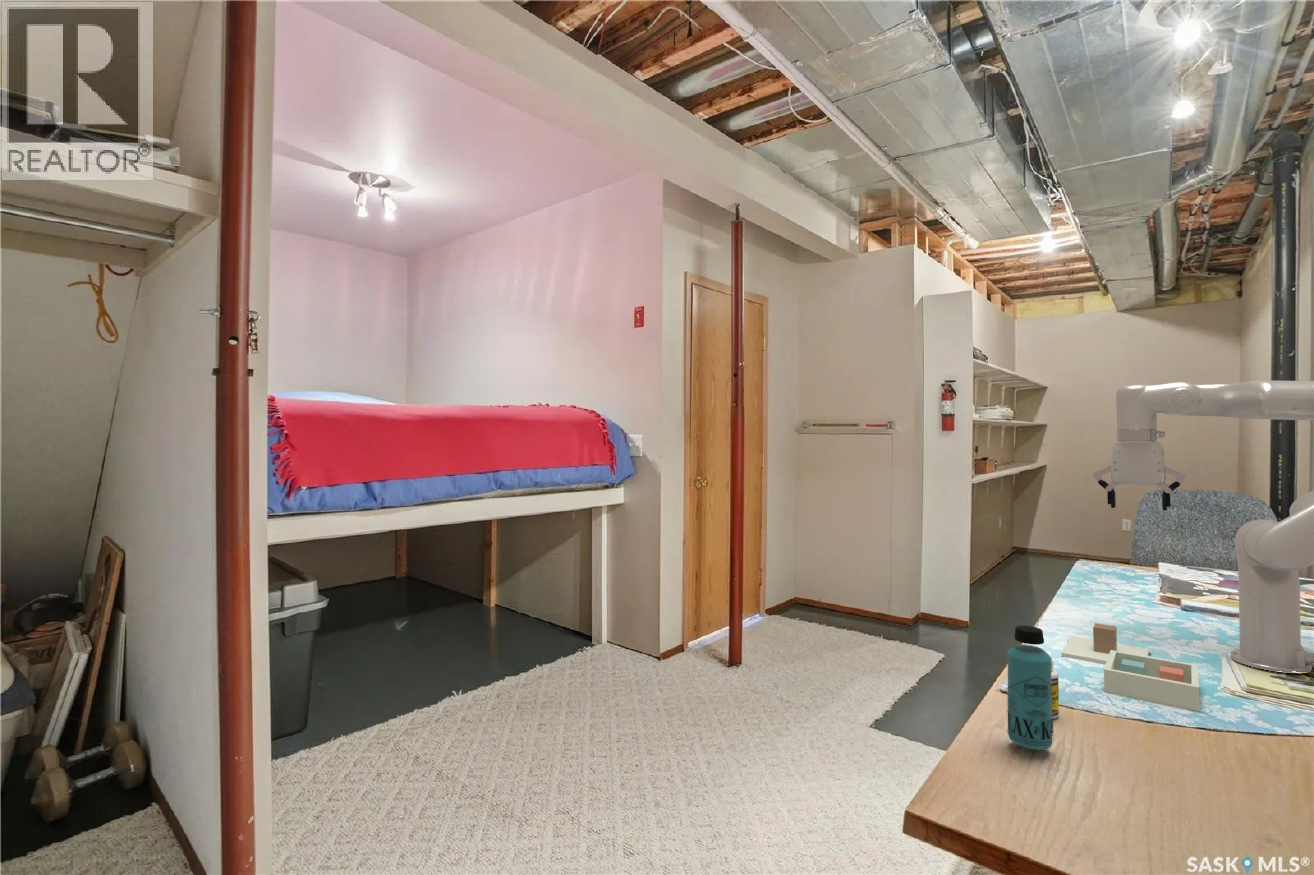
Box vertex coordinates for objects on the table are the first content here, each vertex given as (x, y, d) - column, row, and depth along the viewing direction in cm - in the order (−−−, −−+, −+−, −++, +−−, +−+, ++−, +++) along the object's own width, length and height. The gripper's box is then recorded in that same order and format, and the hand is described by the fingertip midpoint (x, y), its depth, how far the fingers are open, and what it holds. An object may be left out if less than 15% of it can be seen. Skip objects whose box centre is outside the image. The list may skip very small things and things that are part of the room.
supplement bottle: (1050, 723, 109) (1049, 666, 109) (1017, 712, 113) (1016, 657, 113) (1065, 715, 112) (1063, 659, 112) (1032, 704, 116) (1031, 651, 117)
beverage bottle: (998, 741, 103) (996, 622, 103) (1035, 738, 103) (1033, 620, 103) (1025, 761, 96) (1022, 634, 96) (1064, 758, 97) (1062, 632, 97)
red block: (1183, 687, 121) (1183, 669, 121) (1183, 693, 119) (1183, 675, 119) (1160, 683, 124) (1159, 665, 124) (1159, 688, 121) (1159, 670, 121)
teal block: (1145, 680, 125) (1144, 662, 125) (1144, 685, 123) (1143, 668, 123) (1123, 676, 128) (1122, 658, 128) (1121, 681, 125) (1121, 663, 125)
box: (1198, 690, 122) (1198, 664, 122) (1199, 714, 111) (1198, 687, 111) (1111, 673, 131) (1110, 649, 131) (1104, 694, 120) (1103, 669, 120)
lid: (1148, 653, 141) (1148, 625, 141) (1145, 672, 130) (1144, 642, 130) (1070, 640, 151) (1070, 613, 151) (1061, 657, 140) (1060, 628, 140)
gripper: (1184, 436, 143) (1186, 509, 143) (1094, 437, 154) (1095, 505, 154) (1184, 436, 137) (1186, 512, 137) (1090, 437, 148) (1092, 508, 148)
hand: (1138, 508), depth 145 cm, fingers open, 9 cm apart
